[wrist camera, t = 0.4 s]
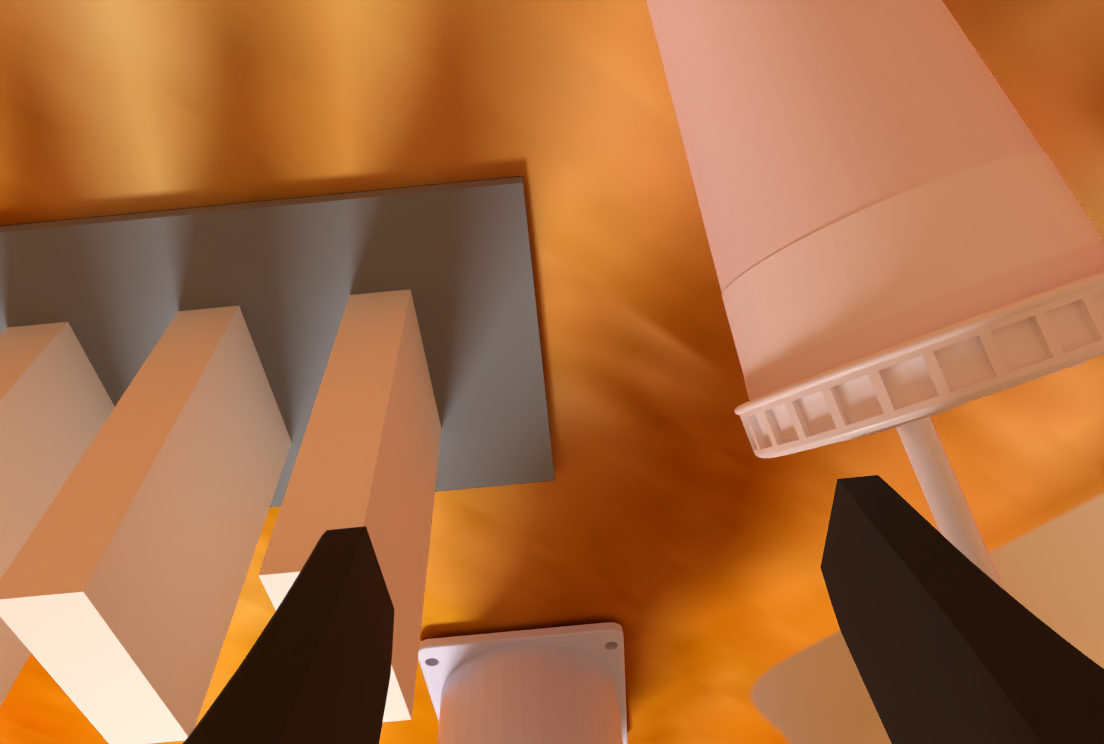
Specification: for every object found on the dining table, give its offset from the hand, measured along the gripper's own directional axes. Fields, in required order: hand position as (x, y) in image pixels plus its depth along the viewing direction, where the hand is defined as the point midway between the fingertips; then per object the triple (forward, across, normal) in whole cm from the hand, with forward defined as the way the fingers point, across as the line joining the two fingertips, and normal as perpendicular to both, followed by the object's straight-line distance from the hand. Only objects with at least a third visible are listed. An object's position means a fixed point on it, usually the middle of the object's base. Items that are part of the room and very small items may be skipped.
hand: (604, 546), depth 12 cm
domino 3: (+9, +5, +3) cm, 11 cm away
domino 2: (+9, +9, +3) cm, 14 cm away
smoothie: (+8, -4, -8) cm, 12 cm away
